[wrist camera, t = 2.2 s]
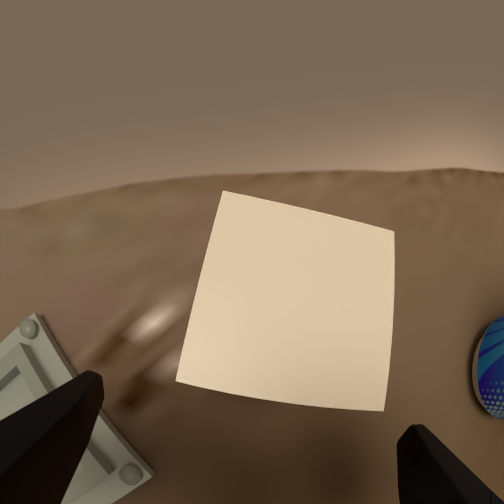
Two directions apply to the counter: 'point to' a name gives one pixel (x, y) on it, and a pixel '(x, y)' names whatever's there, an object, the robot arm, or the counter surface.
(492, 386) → the beer can
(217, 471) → the counter surface
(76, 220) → the counter surface
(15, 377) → the baseplate
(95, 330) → the counter surface
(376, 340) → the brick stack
